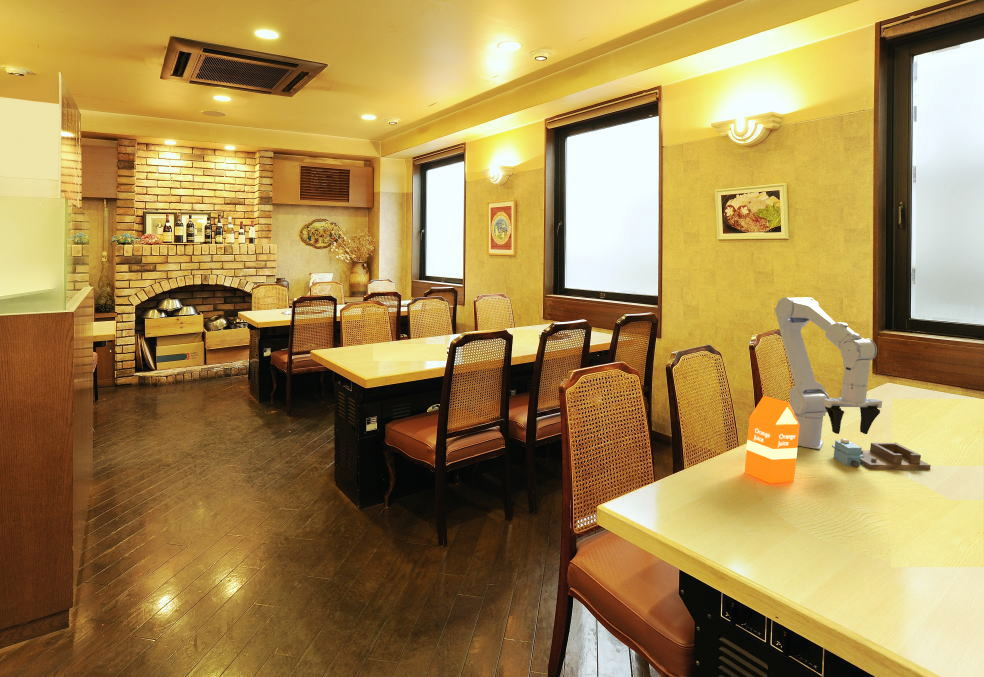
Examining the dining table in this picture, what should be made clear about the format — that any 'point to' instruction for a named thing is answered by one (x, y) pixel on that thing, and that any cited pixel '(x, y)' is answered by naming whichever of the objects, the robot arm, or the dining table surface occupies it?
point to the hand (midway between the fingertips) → (849, 432)
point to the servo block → (847, 452)
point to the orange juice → (772, 441)
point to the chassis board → (891, 457)
